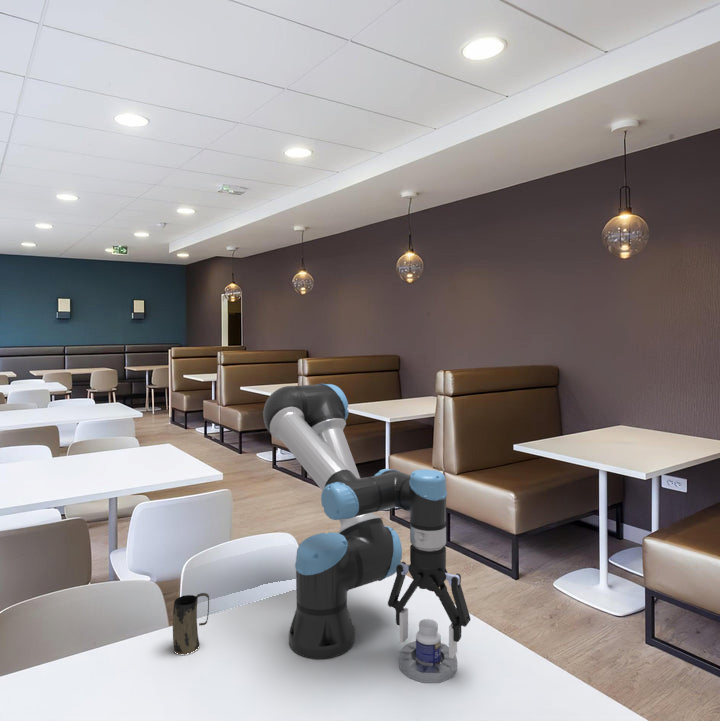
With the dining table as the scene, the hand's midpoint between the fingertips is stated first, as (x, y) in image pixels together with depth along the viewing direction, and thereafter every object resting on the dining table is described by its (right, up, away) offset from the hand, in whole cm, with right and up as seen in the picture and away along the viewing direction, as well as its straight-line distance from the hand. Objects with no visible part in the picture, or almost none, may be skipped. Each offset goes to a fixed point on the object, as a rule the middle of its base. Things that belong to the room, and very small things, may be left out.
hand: (427, 647), depth 116 cm
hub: (0, -4, 0) cm, 4 cm away
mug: (-52, -4, +7) cm, 53 cm away
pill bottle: (0, -4, +1) cm, 4 cm away
